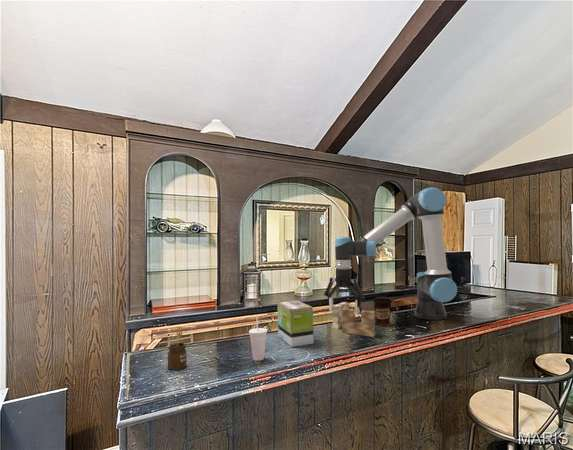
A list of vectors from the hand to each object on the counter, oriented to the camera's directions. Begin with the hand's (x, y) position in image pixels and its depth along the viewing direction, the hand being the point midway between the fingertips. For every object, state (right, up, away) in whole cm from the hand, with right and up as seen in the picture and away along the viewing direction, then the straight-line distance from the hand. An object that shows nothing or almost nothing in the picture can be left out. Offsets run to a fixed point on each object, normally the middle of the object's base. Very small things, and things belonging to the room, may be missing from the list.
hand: (344, 312), depth 156 cm
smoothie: (-38, -4, -45) cm, 59 cm away
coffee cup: (+18, -5, -5) cm, 19 cm away
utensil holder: (-64, -4, -51) cm, 82 cm away
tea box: (-25, -5, -25) cm, 35 cm away
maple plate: (-2, -5, -4) cm, 7 cm away
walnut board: (+3, -4, -18) cm, 19 cm away
